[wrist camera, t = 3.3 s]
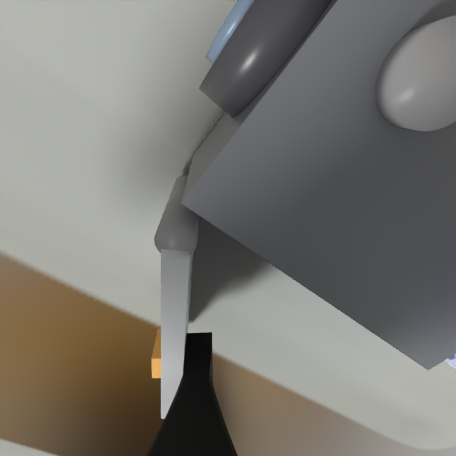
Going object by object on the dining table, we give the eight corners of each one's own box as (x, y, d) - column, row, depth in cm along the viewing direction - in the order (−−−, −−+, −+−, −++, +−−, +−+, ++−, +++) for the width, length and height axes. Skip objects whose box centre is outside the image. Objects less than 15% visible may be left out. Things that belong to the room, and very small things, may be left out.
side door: (190, 334, 13) (184, 418, 10) (162, 333, 13) (146, 418, 10) (202, 176, 9) (198, 224, 6) (162, 172, 9) (135, 219, 6)
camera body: (474, 191, 11) (659, 261, 6) (359, 282, 13) (439, 384, 8) (284, -52, 7) (417, -304, 3) (163, 132, 9) (118, 173, 4)
